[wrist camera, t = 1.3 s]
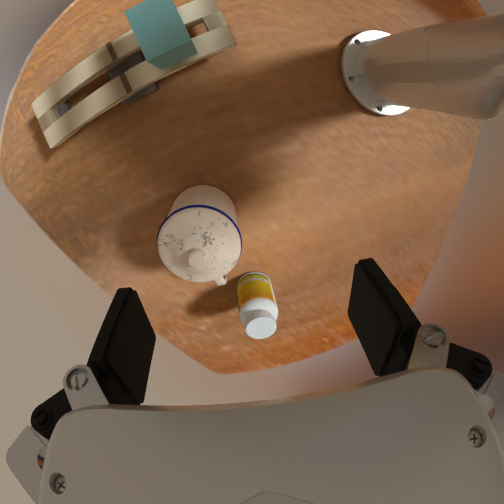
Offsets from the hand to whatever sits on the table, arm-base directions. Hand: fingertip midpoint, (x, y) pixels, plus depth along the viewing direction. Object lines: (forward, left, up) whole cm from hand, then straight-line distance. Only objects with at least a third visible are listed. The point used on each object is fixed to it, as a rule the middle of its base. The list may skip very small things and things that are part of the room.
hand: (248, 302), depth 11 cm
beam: (+6, -17, -26) cm, 31 cm away
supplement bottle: (+4, +18, -26) cm, 32 cm away
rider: (0, -17, -22) cm, 28 cm away
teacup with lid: (+6, +6, -26) cm, 27 cm away
